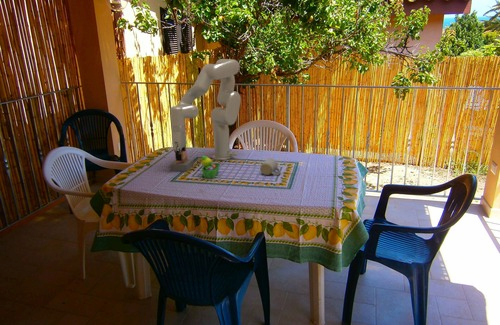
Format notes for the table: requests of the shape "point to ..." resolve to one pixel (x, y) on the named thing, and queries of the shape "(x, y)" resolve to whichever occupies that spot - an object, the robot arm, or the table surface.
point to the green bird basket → (209, 167)
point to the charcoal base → (181, 166)
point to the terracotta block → (182, 157)
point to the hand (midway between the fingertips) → (181, 158)
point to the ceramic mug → (269, 167)
